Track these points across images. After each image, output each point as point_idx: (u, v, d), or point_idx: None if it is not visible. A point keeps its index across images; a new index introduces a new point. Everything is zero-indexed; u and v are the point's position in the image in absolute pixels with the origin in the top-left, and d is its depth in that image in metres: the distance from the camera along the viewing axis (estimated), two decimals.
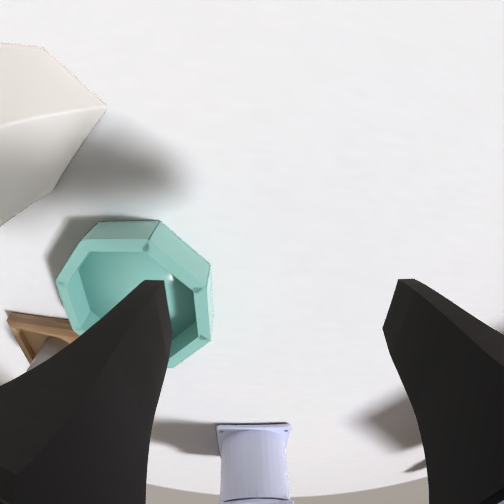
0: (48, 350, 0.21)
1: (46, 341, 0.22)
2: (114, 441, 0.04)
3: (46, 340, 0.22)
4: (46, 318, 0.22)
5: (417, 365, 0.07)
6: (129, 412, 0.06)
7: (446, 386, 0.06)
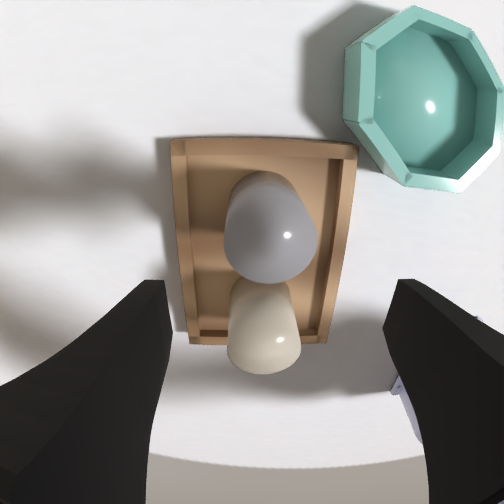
0: (271, 178, 0.15)
1: (254, 175, 0.16)
2: (114, 441, 0.04)
3: (249, 176, 0.16)
4: None
5: (417, 365, 0.07)
6: (129, 412, 0.06)
7: (446, 386, 0.06)
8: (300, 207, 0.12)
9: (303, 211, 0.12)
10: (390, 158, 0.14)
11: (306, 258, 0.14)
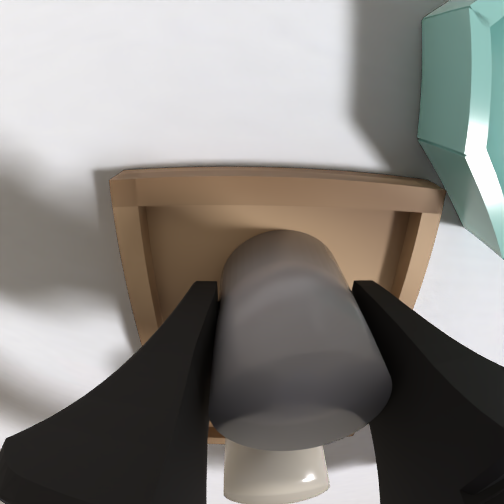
0: (301, 258, 0.08)
1: (266, 242, 0.09)
2: (193, 451, 0.05)
3: (257, 242, 0.09)
4: (275, 168, 0.09)
5: None
6: (199, 419, 0.06)
7: (395, 397, 0.06)
8: (372, 357, 0.05)
9: (377, 364, 0.05)
10: (497, 218, 0.07)
11: (362, 420, 0.06)
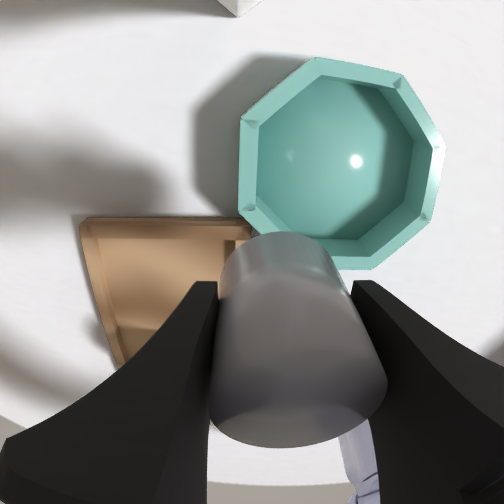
0: (305, 260, 0.08)
1: (270, 242, 0.09)
2: (193, 451, 0.05)
3: (260, 241, 0.09)
4: (156, 218, 0.17)
5: None
6: (199, 419, 0.06)
7: (395, 397, 0.06)
8: (372, 358, 0.05)
9: (376, 365, 0.05)
10: None
11: (355, 420, 0.07)
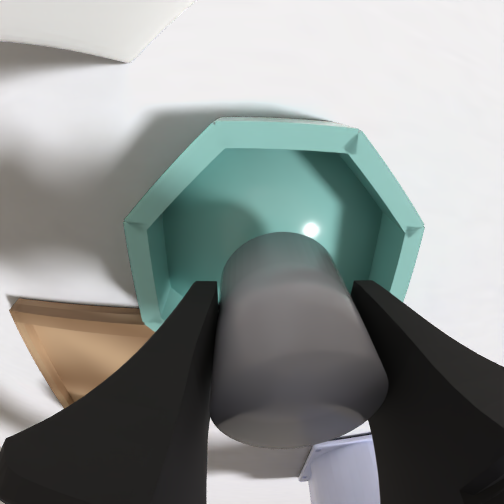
0: (307, 261, 0.08)
1: (273, 242, 0.09)
2: (193, 451, 0.05)
3: (263, 241, 0.09)
4: (78, 306, 0.14)
5: None
6: (199, 419, 0.06)
7: (395, 397, 0.06)
8: (374, 359, 0.05)
9: (378, 367, 0.06)
10: None
11: (355, 422, 0.07)
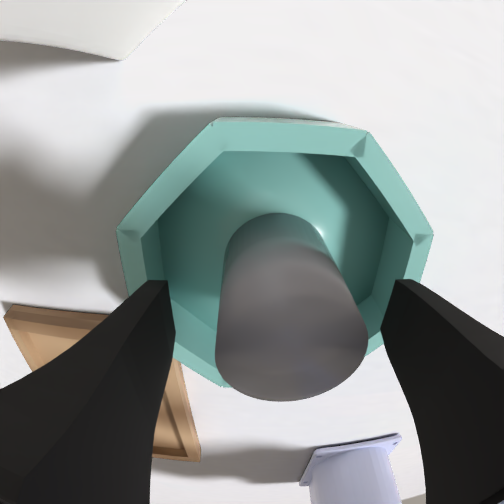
0: (298, 234, 0.09)
1: (269, 221, 0.10)
2: (119, 442, 0.04)
3: (261, 220, 0.11)
4: (73, 313, 0.13)
5: (414, 365, 0.07)
6: (133, 413, 0.06)
7: (443, 387, 0.06)
8: (353, 309, 0.07)
9: (357, 315, 0.07)
10: (194, 365, 0.12)
11: (342, 374, 0.08)
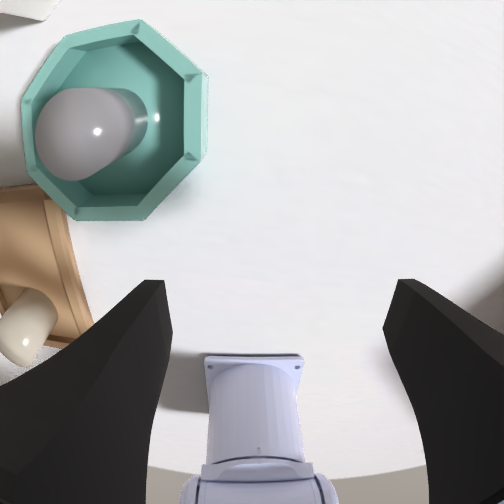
0: None
1: None
2: (114, 441, 0.04)
3: None
4: None
5: (417, 365, 0.07)
6: (129, 412, 0.06)
7: (446, 386, 0.06)
8: (96, 95, 0.10)
9: (98, 98, 0.10)
10: (56, 198, 0.14)
11: (102, 152, 0.11)
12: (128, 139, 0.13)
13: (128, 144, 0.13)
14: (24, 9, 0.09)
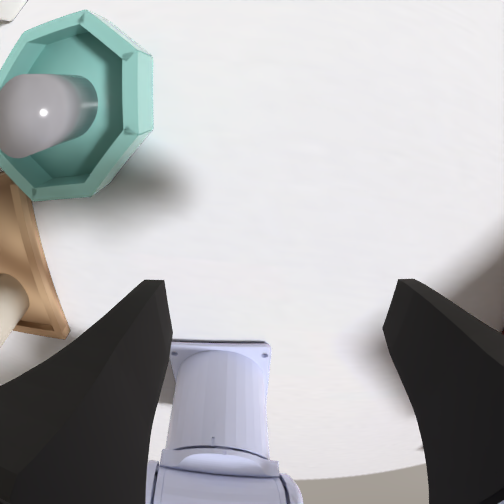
0: (59, 74, 0.12)
1: None
2: (114, 441, 0.04)
3: None
4: None
5: (417, 365, 0.07)
6: (129, 412, 0.06)
7: (446, 386, 0.06)
8: (38, 78, 0.09)
9: (39, 81, 0.09)
10: (17, 180, 0.14)
11: (43, 128, 0.10)
12: (72, 118, 0.12)
13: (73, 123, 0.12)
14: None
